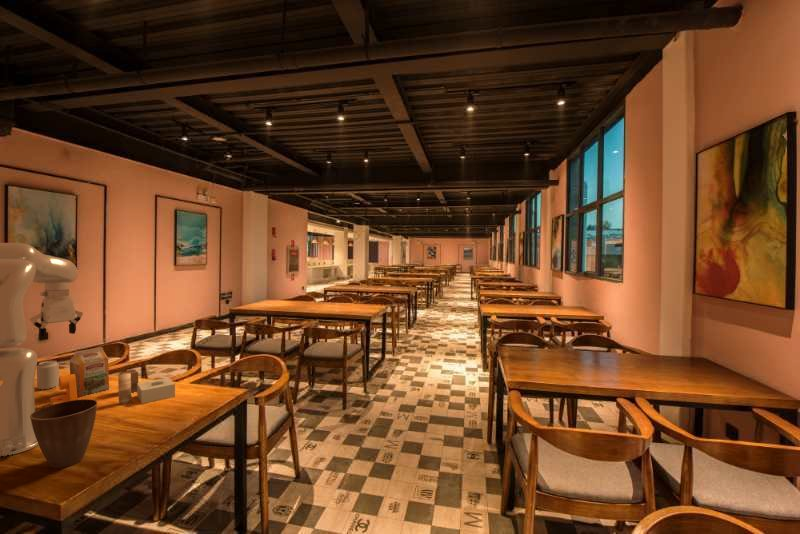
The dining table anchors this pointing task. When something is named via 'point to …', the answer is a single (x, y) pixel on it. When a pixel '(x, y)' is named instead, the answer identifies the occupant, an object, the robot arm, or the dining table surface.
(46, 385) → the can
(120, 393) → the birch dowel
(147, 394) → the bore block
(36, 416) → the plant pot
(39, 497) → the dining table surface
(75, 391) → the bracket
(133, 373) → the walnut square bit
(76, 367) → the milk carton
